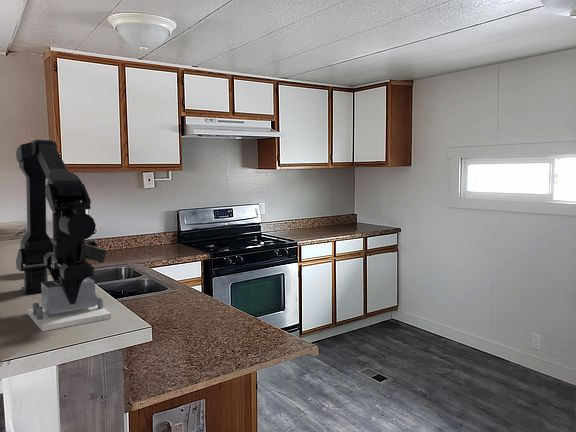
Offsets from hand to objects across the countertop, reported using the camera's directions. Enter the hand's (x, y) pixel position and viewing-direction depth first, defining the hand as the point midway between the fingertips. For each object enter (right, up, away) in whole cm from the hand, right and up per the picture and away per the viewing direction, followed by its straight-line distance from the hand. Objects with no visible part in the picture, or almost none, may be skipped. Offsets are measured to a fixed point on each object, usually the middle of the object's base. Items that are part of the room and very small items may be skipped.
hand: (68, 300), depth 109 cm
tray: (0, -4, 0) cm, 4 cm away
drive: (0, -2, 0) cm, 2 cm away
